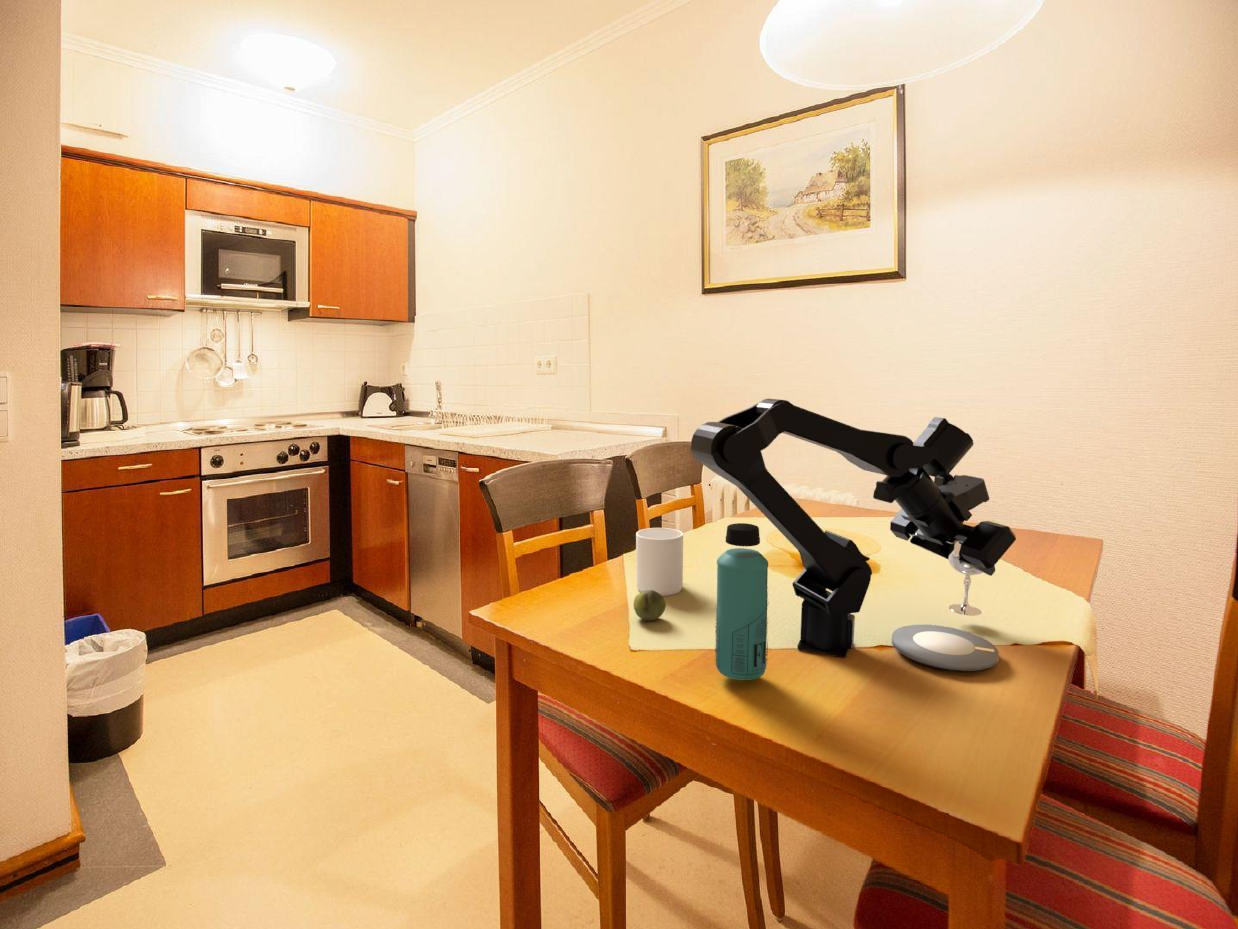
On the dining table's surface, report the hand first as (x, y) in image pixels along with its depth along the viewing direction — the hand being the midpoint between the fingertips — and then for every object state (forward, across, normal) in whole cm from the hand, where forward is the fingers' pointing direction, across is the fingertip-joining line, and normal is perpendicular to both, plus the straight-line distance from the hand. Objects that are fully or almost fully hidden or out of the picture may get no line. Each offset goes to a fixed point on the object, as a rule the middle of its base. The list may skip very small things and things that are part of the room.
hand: (975, 567), depth 98 cm
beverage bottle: (-23, -6, +36) cm, 44 cm away
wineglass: (+4, 0, +6) cm, 7 cm away
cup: (-21, +31, +34) cm, 51 cm away
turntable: (-2, -8, +15) cm, 17 cm away
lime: (-26, +16, +40) cm, 50 cm away
